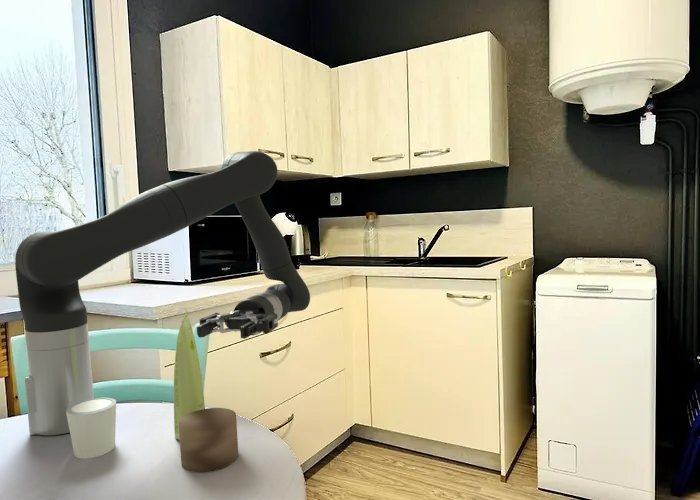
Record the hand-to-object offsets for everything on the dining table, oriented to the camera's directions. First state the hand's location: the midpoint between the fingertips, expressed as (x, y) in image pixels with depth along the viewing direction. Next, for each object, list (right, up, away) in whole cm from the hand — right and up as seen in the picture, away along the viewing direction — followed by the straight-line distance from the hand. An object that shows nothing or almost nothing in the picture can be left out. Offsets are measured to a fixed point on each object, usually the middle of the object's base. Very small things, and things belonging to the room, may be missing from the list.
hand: (220, 332), depth 91 cm
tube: (-2, -15, -10) cm, 18 cm away
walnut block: (+3, -15, -18) cm, 24 cm away
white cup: (-16, -16, -13) cm, 26 cm away
